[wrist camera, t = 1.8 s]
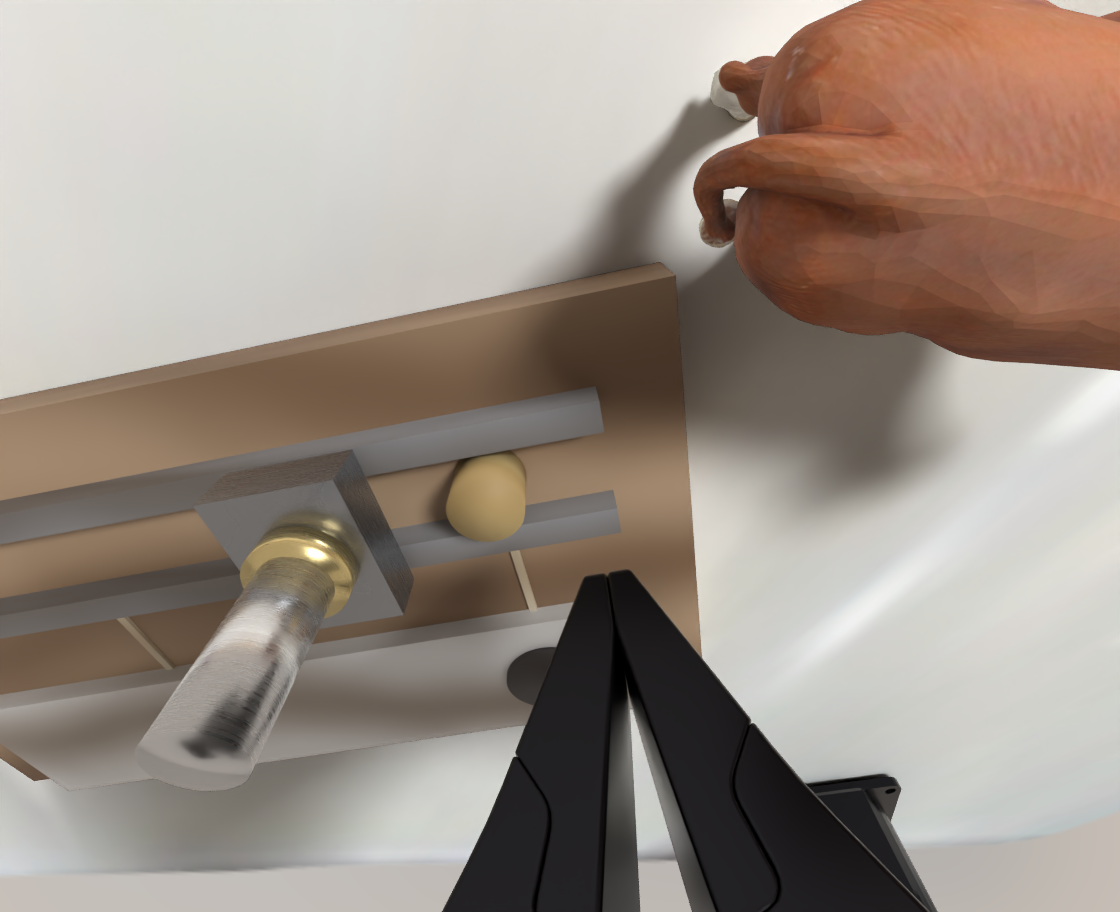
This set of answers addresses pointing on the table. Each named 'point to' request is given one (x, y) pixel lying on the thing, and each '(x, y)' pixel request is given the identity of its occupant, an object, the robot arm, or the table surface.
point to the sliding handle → (274, 609)
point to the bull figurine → (933, 177)
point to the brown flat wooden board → (400, 489)
